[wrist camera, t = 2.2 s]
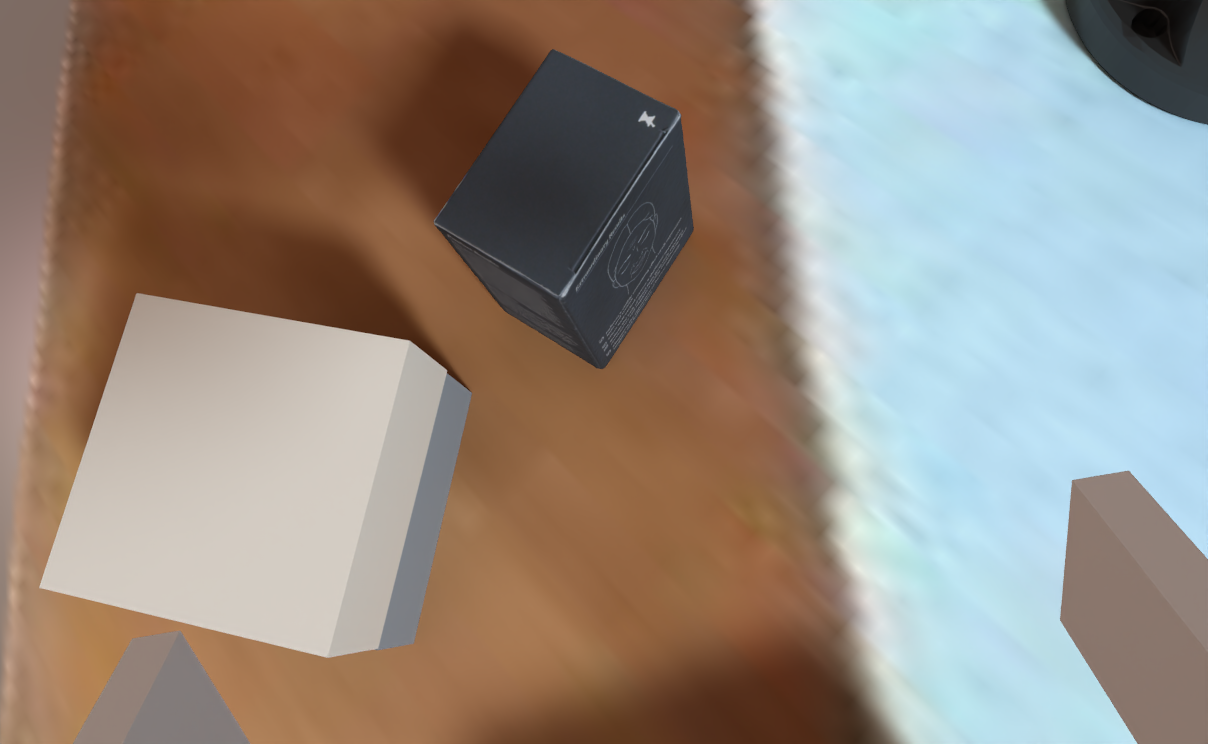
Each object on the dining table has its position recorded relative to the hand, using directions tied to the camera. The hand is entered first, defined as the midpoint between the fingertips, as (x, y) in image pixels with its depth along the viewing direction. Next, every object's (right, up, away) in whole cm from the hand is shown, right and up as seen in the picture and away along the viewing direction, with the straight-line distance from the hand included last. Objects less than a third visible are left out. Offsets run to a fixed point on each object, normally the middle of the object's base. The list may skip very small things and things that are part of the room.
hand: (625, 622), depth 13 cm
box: (-1, +8, +27) cm, 29 cm away
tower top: (-13, -1, +22) cm, 26 cm away
